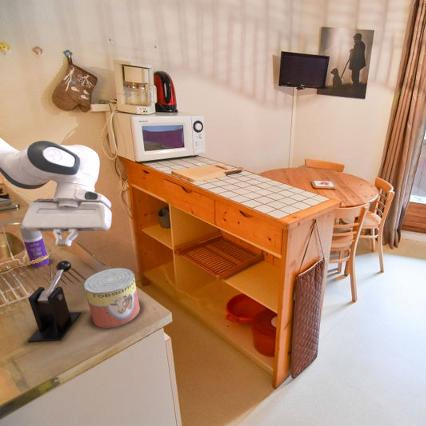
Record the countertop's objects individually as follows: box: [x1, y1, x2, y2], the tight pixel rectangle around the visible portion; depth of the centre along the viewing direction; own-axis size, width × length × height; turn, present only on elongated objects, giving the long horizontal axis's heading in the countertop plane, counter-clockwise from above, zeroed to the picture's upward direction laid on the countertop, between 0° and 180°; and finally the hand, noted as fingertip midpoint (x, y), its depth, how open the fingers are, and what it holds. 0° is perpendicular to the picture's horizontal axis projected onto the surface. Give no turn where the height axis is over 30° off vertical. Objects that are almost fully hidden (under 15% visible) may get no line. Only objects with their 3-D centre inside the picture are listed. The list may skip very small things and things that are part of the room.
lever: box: [38, 259, 72, 305], centre depth 82 cm, size 12×3×3 cm, turn 10°
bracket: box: [27, 285, 82, 343], centre depth 80 cm, size 10×7×12 cm
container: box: [19, 224, 51, 268], centre depth 104 cm, size 5×5×15 cm
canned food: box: [83, 267, 141, 329], centre depth 86 cm, size 11×11×12 cm
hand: (62, 246), depth 85 cm, fingers closed
